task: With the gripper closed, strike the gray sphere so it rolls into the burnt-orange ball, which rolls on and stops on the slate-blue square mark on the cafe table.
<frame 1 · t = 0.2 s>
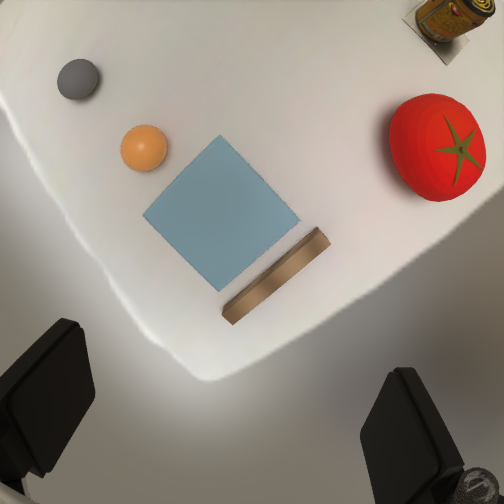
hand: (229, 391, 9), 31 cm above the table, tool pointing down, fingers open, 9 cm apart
gray sphere: (77, 79, 31), on the table
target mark: (218, 216, 39), on the table
object ball: (143, 148, 34), on the table
condiment: (437, 30, 29), on the table
stopper wall: (274, 273, 41), on the table
tomato: (418, 146, 35), on the table
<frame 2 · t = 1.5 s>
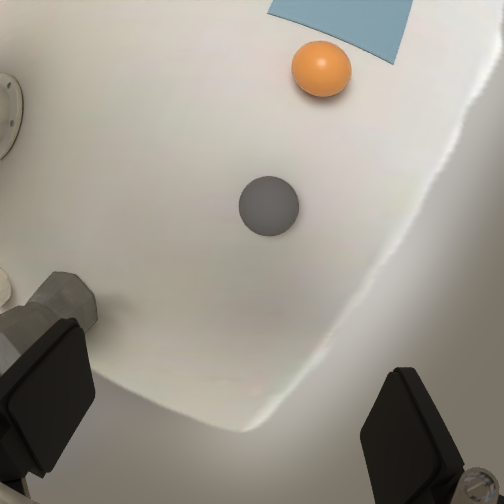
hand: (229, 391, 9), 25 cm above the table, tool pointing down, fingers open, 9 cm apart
gray sphere: (268, 206, 29), on the table
object ball: (321, 68, 25), on the table
coffeepot: (75, 299, 37), on the table
shot glass: (0, 283, 37), on the table
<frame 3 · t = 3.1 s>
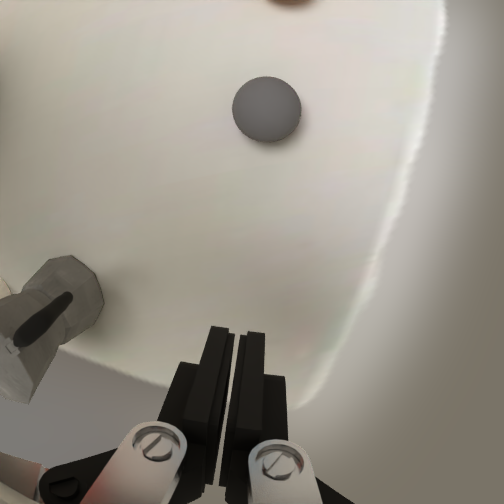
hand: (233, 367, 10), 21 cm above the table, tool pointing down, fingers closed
gray sphere: (266, 109, 24), on the table
coffeepot: (77, 286, 33), on the table
shot glass: (0, 292, 34), on the table
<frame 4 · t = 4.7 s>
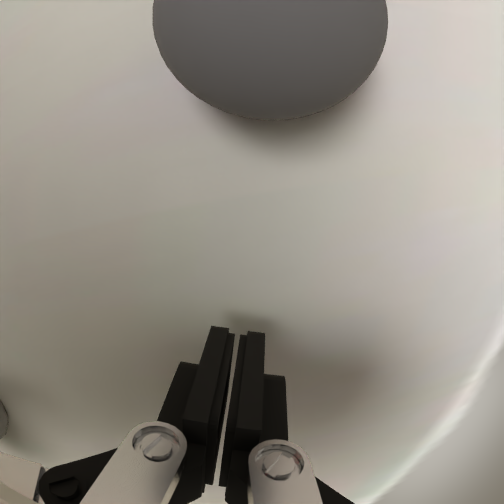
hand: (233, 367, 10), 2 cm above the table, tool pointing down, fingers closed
gray sphere: (270, 14, 6), on the table
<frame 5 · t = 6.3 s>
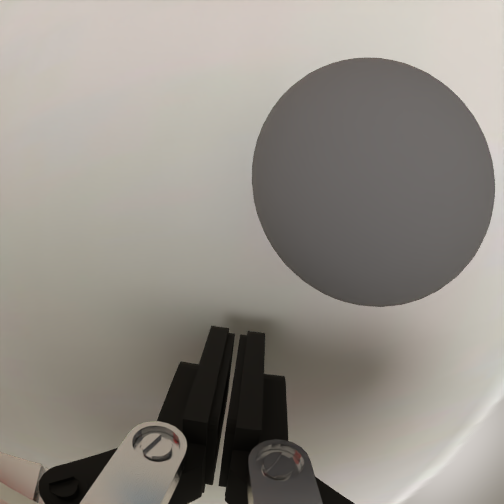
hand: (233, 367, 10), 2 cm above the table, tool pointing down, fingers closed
gray sphere: (375, 180, 7), on the table
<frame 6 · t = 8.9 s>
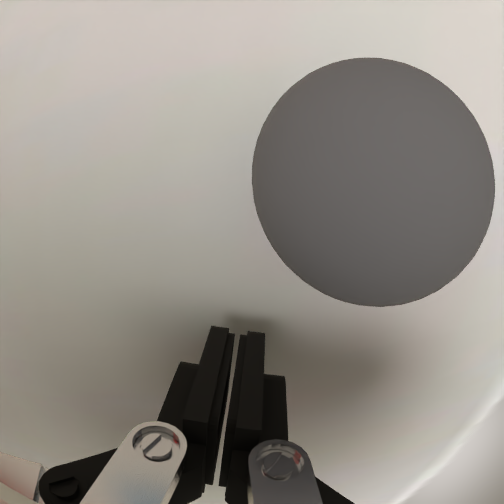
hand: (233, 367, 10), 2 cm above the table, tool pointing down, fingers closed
gray sphere: (375, 180, 7), on the table
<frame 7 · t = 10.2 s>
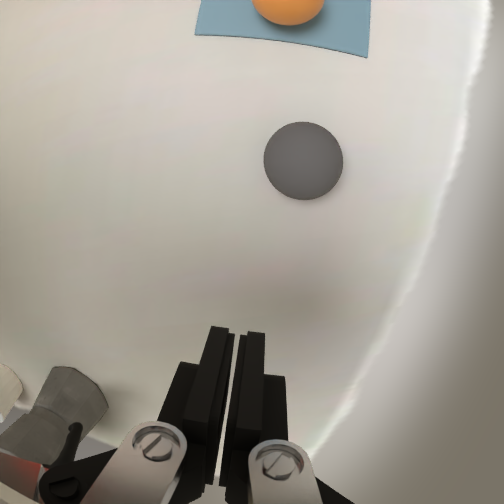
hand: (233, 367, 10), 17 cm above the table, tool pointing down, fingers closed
gray sphere: (303, 160, 21), on the table
coffeepot: (82, 390, 34), on the table
shot glass: (10, 378, 35), on the table
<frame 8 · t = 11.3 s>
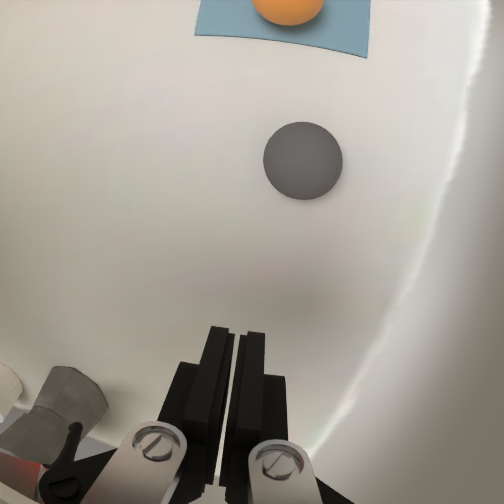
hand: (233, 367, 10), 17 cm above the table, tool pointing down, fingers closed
gray sphere: (303, 160, 21), on the table
coffeepot: (82, 390, 34), on the table
shot glass: (10, 378, 35), on the table
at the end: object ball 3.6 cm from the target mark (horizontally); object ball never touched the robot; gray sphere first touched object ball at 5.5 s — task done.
